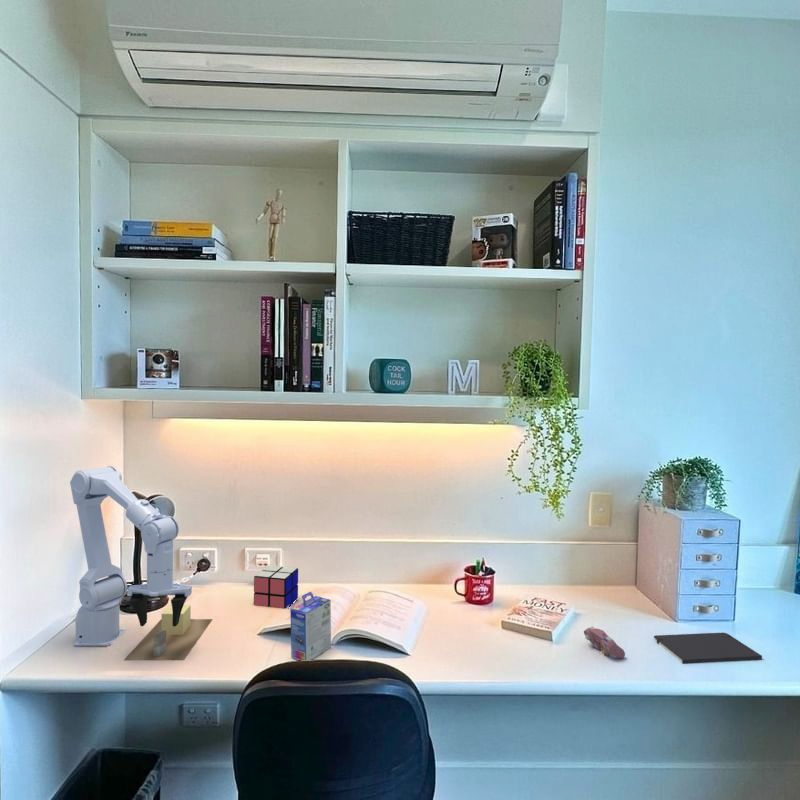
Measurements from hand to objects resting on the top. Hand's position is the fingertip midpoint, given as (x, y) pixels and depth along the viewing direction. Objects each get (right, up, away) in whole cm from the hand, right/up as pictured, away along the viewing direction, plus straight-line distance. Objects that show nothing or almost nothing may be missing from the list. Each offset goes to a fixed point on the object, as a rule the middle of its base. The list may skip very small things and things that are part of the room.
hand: (159, 624), depth 132 cm
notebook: (+137, -11, +9) cm, 137 cm away
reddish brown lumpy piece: (+109, -10, +7) cm, 110 cm away
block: (-1, -6, +12) cm, 14 cm away
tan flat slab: (0, -8, +8) cm, 11 cm away
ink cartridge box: (+36, -9, +4) cm, 37 cm away
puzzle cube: (+21, -8, +33) cm, 39 cm away
